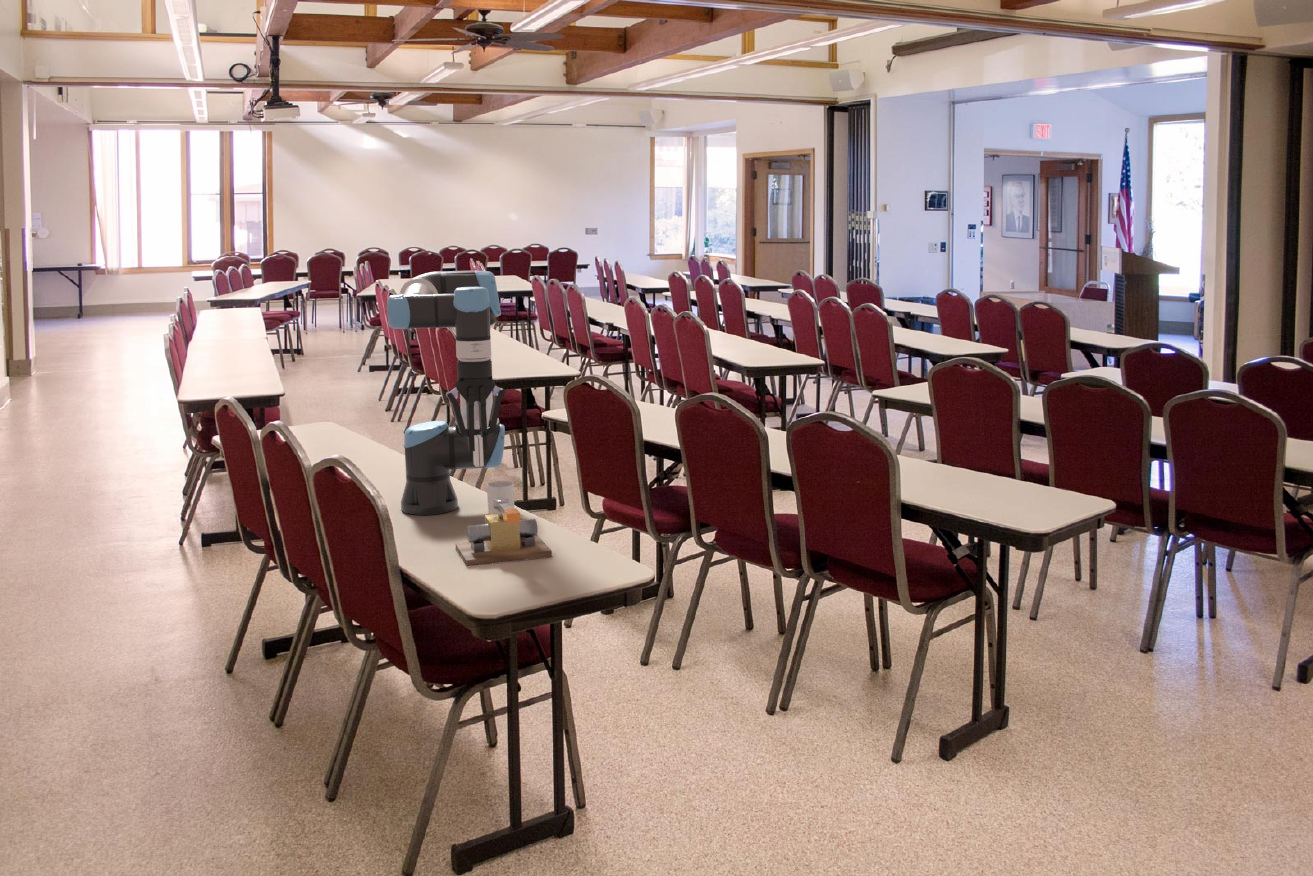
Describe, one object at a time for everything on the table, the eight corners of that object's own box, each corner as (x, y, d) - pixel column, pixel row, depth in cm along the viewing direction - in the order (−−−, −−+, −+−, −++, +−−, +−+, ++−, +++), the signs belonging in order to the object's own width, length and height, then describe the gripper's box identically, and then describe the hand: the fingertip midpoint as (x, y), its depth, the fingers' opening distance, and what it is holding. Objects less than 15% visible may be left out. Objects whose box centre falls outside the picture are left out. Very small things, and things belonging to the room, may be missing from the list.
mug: (517, 531, 284) (516, 485, 281) (491, 534, 281) (489, 488, 279) (509, 521, 293) (508, 476, 290) (484, 524, 291) (482, 478, 288)
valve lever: (492, 507, 265) (491, 498, 265) (507, 505, 267) (506, 496, 266) (505, 523, 252) (505, 514, 251) (521, 522, 253) (521, 512, 252)
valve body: (466, 546, 267) (464, 508, 265) (532, 539, 272) (531, 502, 270) (472, 554, 260) (470, 516, 258) (539, 547, 266) (538, 509, 264)
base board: (455, 549, 270) (455, 543, 269) (537, 540, 276) (537, 534, 276) (466, 566, 257) (466, 560, 256) (551, 556, 263) (551, 550, 263)
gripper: (446, 363, 239) (451, 471, 243) (508, 359, 243) (511, 466, 248) (440, 358, 245) (445, 464, 250) (500, 355, 250) (504, 459, 255)
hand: (478, 464), depth 249 cm, fingers closed
